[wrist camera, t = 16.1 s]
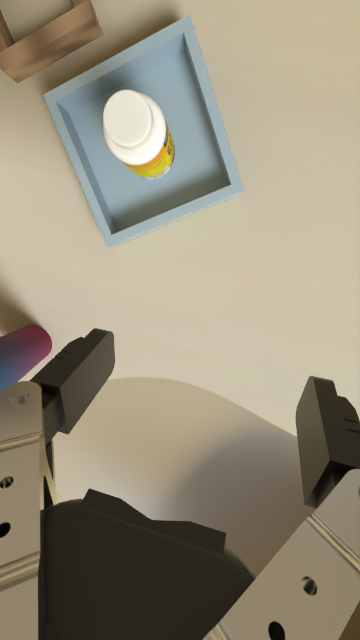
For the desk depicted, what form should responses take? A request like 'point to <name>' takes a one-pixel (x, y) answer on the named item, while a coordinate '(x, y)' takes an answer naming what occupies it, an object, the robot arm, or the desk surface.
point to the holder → (48, 41)
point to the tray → (184, 125)
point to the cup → (22, 353)
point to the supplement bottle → (138, 134)
